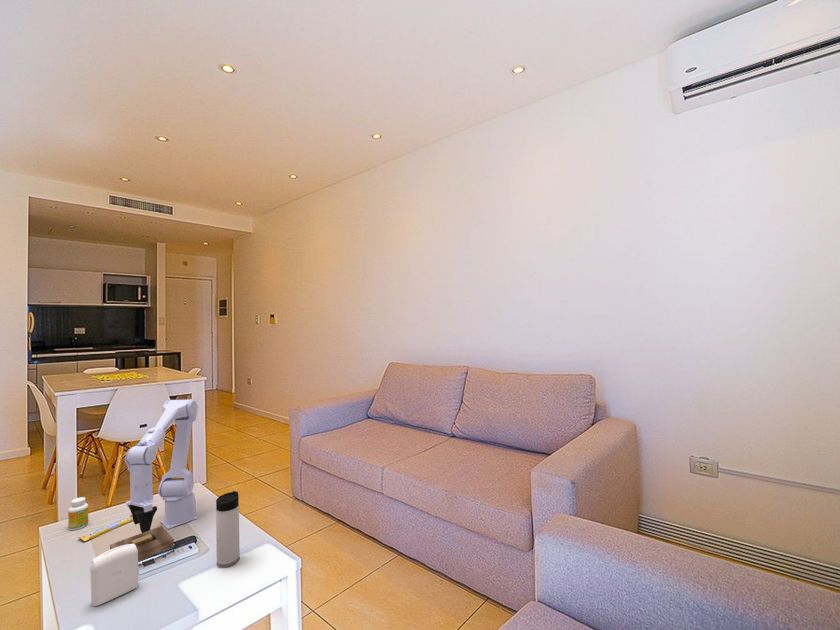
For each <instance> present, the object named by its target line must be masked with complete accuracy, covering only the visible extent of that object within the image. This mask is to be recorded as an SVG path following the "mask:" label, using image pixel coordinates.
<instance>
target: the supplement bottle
mask: <svg viewBox="0 0 840 630" xmlns="http://www.w3.org/2000/svg"><path fill="white" fill-rule="evenodd" d="M87 526H89V504H88V503H87V502H86V497H83V496H81V497H77V498H74V499H72V500H71V501H70V507H68V530H69V531H77V530H81V529H84V528H85V527H87Z"/></svg>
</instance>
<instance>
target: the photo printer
mask: <svg viewBox="0 0 840 630" xmlns="http://www.w3.org/2000/svg"><path fill="white" fill-rule="evenodd" d="M139 581H140V580H139V566H138V550H137V548H136V545H135V544H127V545H122V546H119V547H116V548H113V549H111V550H110V549H109V550H107V551H105V552H102V553H101V554H98V556H96V557H94V558H93V559H92V560H91V566H90V598H91V599H90V600H91V601H90V602H91V603H90V604H91V606H93V607H99V606H100V605H103V604H104V603H107V602H109V601H112V600H115V598H118V597H120V596H122V595H125V594H126V593H128V592H130V591H133V590H135V589H137V588H138V587H139V584H140V583H139Z"/></svg>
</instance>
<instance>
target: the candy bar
mask: <svg viewBox="0 0 840 630" xmlns="http://www.w3.org/2000/svg"><path fill="white" fill-rule="evenodd" d="M132 522H134V521H133V517H132V514H129V516H127V517H124V518H122V519H120V520H117V521H116V522H113V523H111V524H108V525H105V526H103V527H101V528H97V529H96V530H94V531H93V530H92V531H91V532H88V533H86V534H84V535H82V536H78V537H77V538H78V539H80V540H82V541H83V542H87V541H89V540H90V541H91V540H92V539H95V538H98V537H100V536H102V535H105V534H107V533H109V532H111V531H114V530H116V529H118V528H120V527H122V526H125V525H128V524H130V523H132Z"/></svg>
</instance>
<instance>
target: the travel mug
mask: <svg viewBox="0 0 840 630" xmlns="http://www.w3.org/2000/svg"><path fill="white" fill-rule="evenodd" d="M239 498H240V497H239V491H236V490H235V491H234V490H232V491H231V492H226V493H224V494H222V495H219V496H218V497H217V498H216V500H215V506H216V507H215V521H216V522H215V525H216V526H215V529H216V530H215V531H216V533H215V534H216V535H215V536H216V537H215V539H216V543H215V544H216V566H217V567H219V568H223V569H225V568H230V567H232V566H234V565H235V564H237V563H238V562H239V560H240V553H241V552H240V551H241V550H240V506H239V505H240V503H239V501H240V500H239Z"/></svg>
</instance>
